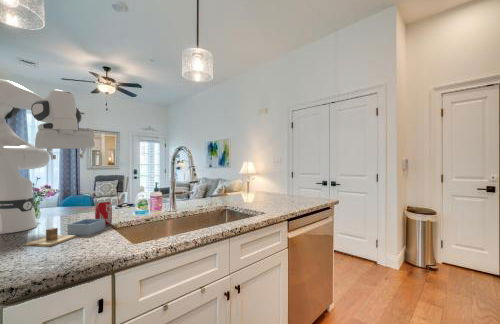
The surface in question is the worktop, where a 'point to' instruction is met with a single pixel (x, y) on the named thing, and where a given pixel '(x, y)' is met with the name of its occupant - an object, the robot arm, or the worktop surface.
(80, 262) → the worktop surface
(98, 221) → the dish
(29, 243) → the lid
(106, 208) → the soda can
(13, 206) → the robot arm
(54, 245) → the mat
